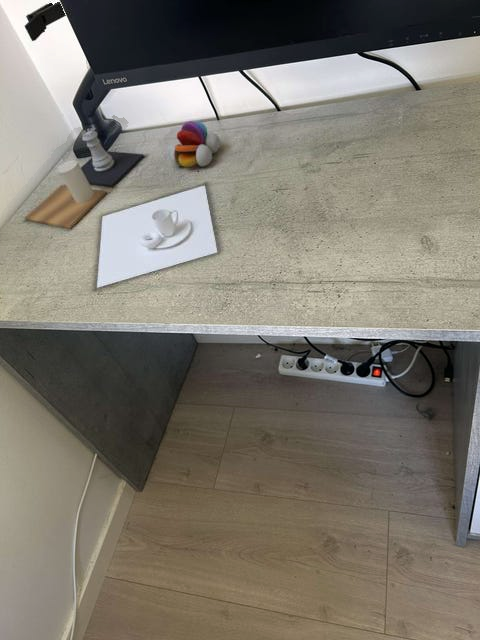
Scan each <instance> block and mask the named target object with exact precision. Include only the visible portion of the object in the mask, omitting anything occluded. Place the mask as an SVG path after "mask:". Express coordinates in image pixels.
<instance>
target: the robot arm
mask: <svg viewBox="0 0 480 640" xmlns="http://www.w3.org/2000/svg"><path fill="white" fill-rule="evenodd" d="M48 3H49V2H48ZM64 17H67V16H66V15H65V13H64V11H63V8H62V6H61V4H60V2H57V3H55V4H54V5H53V4H52V3H49V4H47V3H45V4H44V5H43V6H40V7H39V8H38V9H36V10H34V11H32V12H31V13H28V14H27V15H25V18H26V20H27V23H26V24H25V25H24V28H25V30H26V33H27V34H28V36H29V38H30V40H31V42H35V41H37V39H39V38H40V36H41V35H42V34H43V33H45V32H46V30H47V29H48V27H47V26H50V25H51V24H53V23H55V22H57V21H60V19H63V18H64Z"/></svg>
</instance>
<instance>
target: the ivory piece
mask: <svg viewBox="0 0 480 640" xmlns="http://www.w3.org/2000/svg"><path fill="white" fill-rule="evenodd" d="M57 172H58V174H59V176H60V177H61V179H62V181H63V182H64V184H65V186H67V188H68V189H69V191H70V193H71V194H72V196H73V198H74V200H75V201H76V202H77V203H84V202H87V201H88V200H90V199H91V198H92V197H93V196H94V192H93V190H94V189H93V188H92V185H90V184H89V182H88V181H87V179H86V177H85V175H84V173H83V171H82V170H81V166H80V164H79V163H78V161H77V160H76V159H71V160H67V161H65V162H63V163H62V164H60V165H59V166H58V167H57Z"/></svg>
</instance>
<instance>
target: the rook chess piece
mask: <svg viewBox="0 0 480 640" xmlns="http://www.w3.org/2000/svg"><path fill="white" fill-rule="evenodd" d="M81 135H82V141H84V142H85V143H86V147H87V148H88V149H89V151H90V153H91V158H92V157H93V158H92V160H93V162H92V164H93V166H94V167H95V168H94V169H95V170H96V171H98V172H104V171H107V170H109V169H110V168H112V167H113V165H114V160H113V159H112V157H111V155H110V154H108V153H107V152H105V151H106V150H105V149H104V148H103V147H104V146H102V144H101V140H100V139H99V138H98V132H97V131H95V130H94V128H86V130H83V131H82V133H81Z"/></svg>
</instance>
